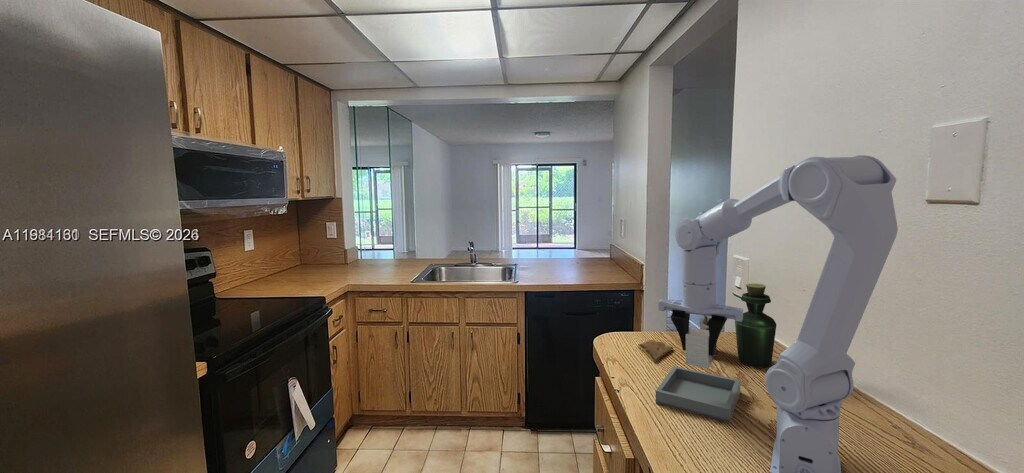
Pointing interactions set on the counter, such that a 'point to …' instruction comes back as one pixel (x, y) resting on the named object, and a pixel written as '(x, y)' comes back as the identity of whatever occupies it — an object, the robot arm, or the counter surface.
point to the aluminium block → (698, 348)
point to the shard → (654, 349)
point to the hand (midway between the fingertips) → (698, 351)
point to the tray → (699, 393)
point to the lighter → (706, 328)
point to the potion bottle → (755, 329)
